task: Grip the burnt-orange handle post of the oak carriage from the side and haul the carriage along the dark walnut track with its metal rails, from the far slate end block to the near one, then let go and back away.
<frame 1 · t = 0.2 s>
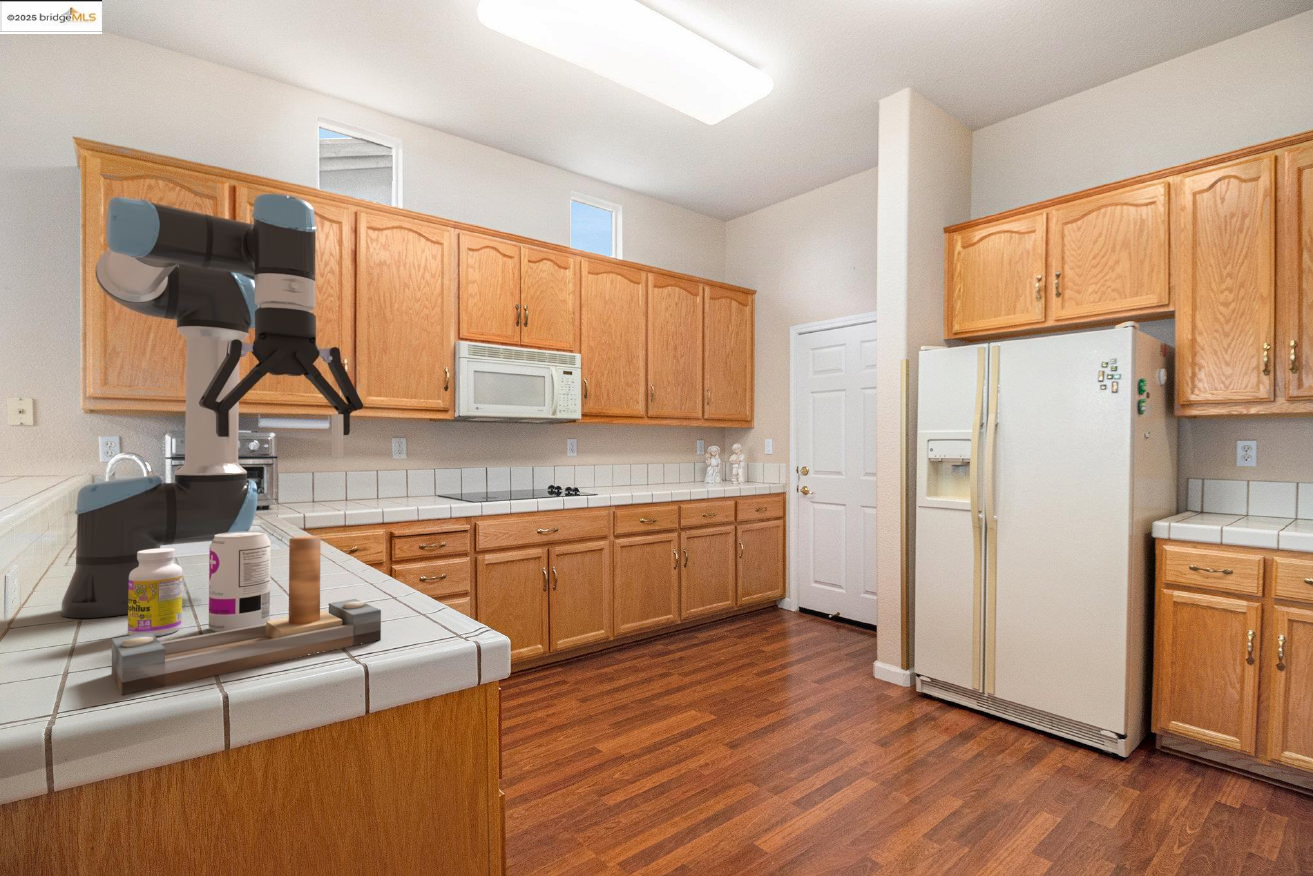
hand: (287, 459, 92), 27 cm above the countertop, tool pointing down, fingers open, 13 cm apart
supplement can: (239, 628, 103), on the countertop
carriage: (304, 586, 93), point 9 cm above the countertop, slide at 6.0 cm
supplement bottle: (155, 634, 100), on the countertop
track: (257, 655, 89), on the countertop
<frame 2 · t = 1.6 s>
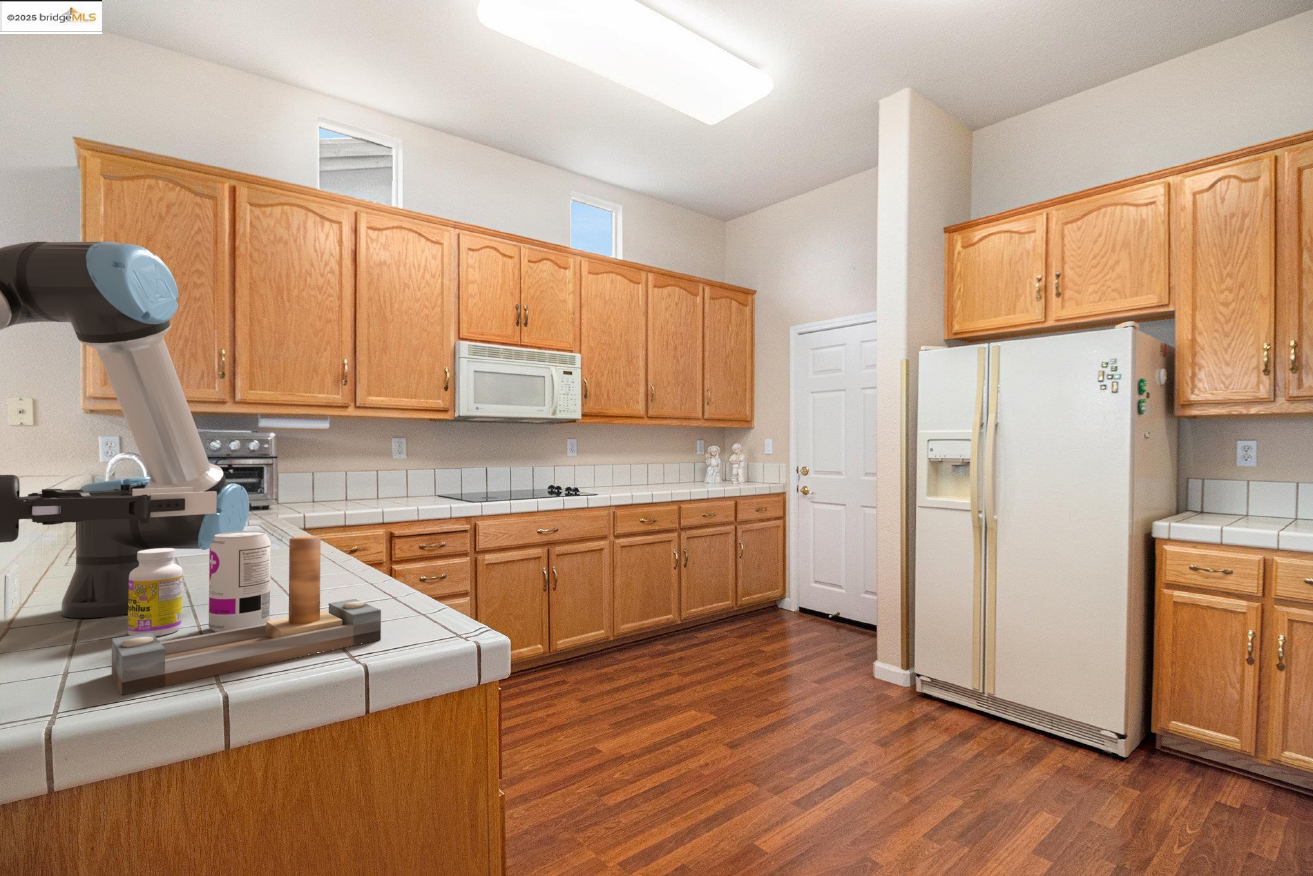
hand: (203, 499, 85), 22 cm above the countertop, tool horizontal, fingers open, 13 cm apart
nothing on the countertop moved.
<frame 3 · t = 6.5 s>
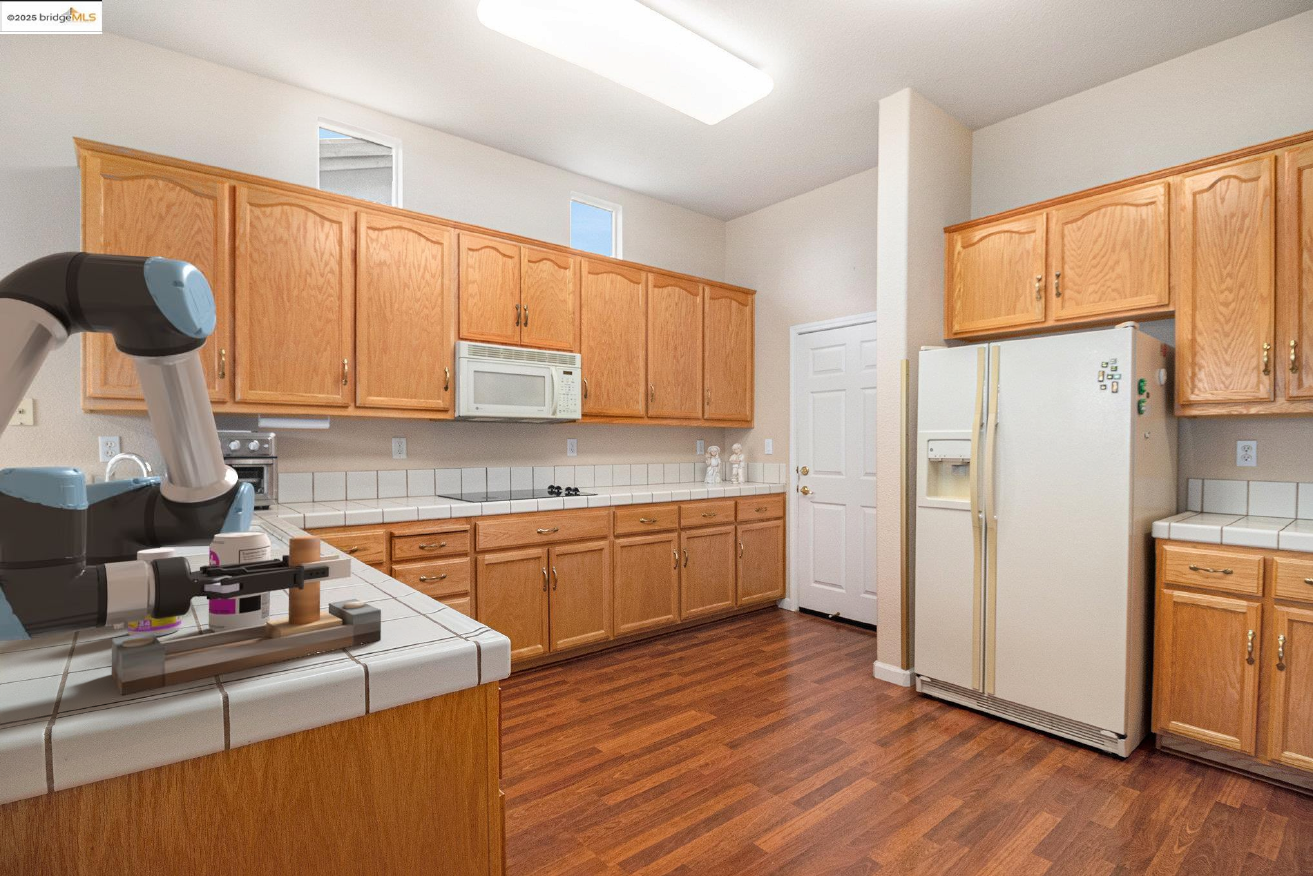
hand: (343, 565, 97), 11 cm above the countertop, tool horizontal, fingers closed on carriage, 4 cm apart
carriage: (304, 586, 93), point 9 cm above the countertop, slide at 6.0 cm, touching gripper
everything else where it was.
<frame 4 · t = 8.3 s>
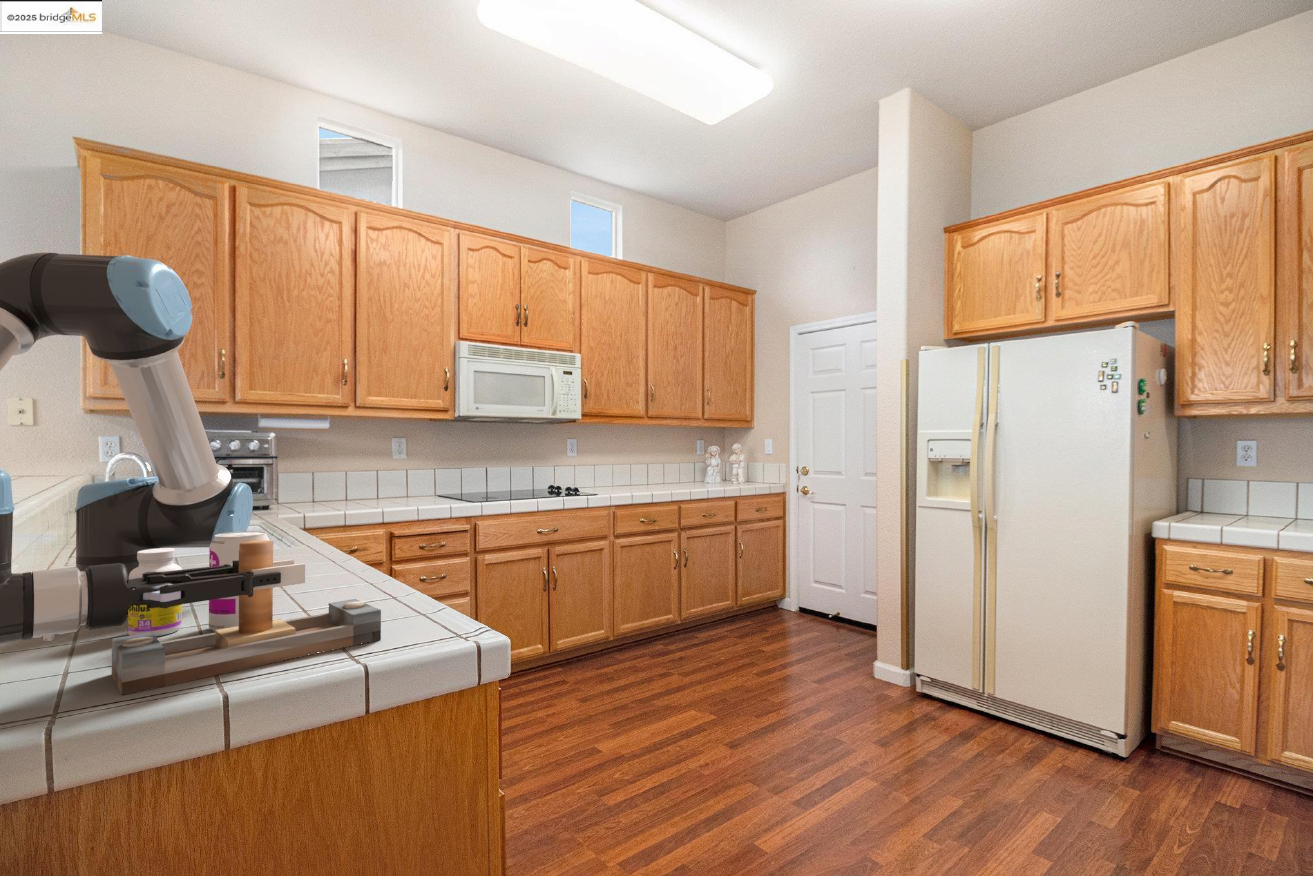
hand: (298, 571, 93), 11 cm above the countertop, tool horizontal, fingers closed on carriage, 4 cm apart
carriage: (256, 593, 89), point 9 cm above the countertop, slide at -0.2 cm, touching gripper
everything else where it was.
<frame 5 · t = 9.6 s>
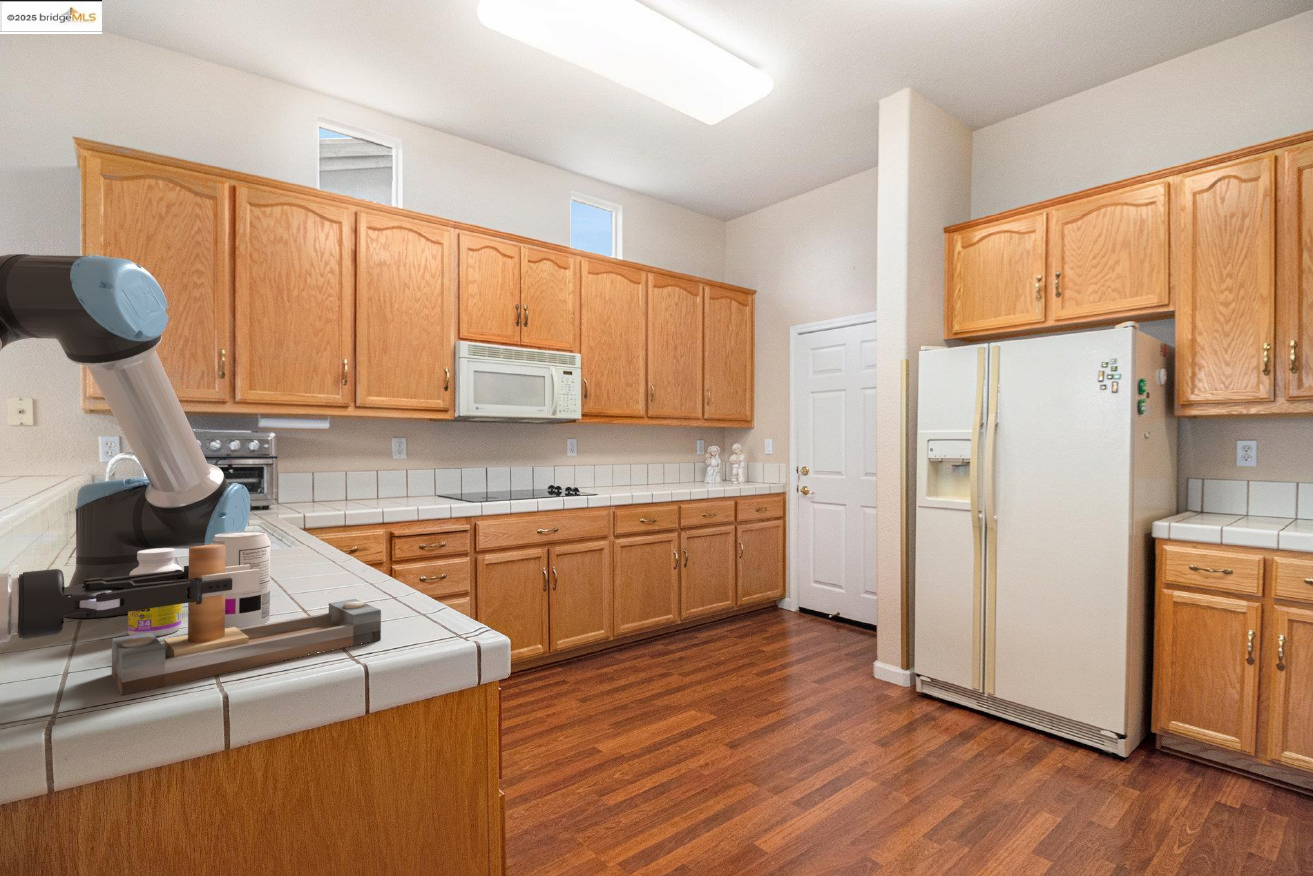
hand: (253, 576, 89), 11 cm above the countertop, tool horizontal, fingers closed on carriage, 4 cm apart
carriage: (206, 600, 85), point 9 cm above the countertop, slide at -5.9 cm, touching gripper
everything else where it was.
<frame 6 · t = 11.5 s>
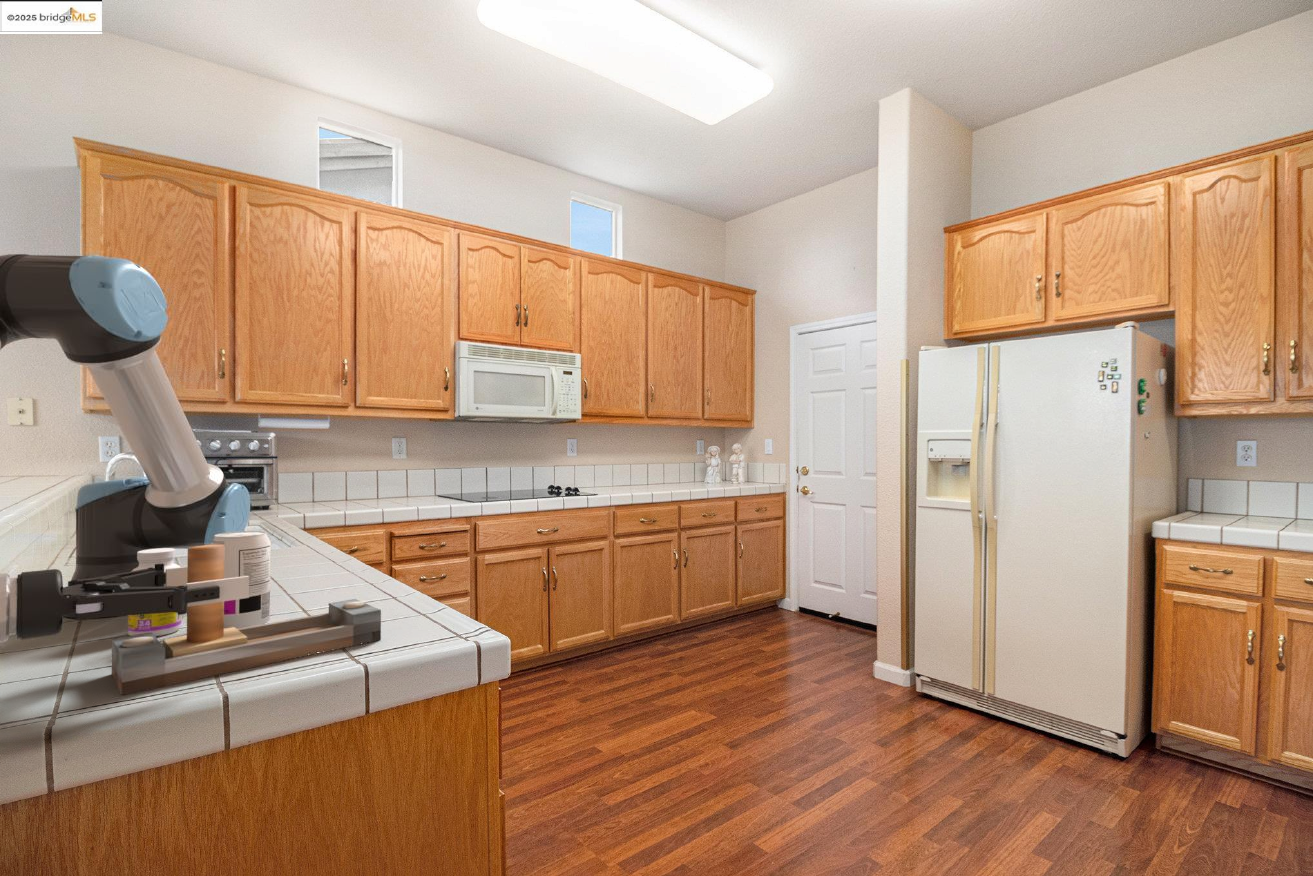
hand: (235, 579, 87), 11 cm above the countertop, tool horizontal, fingers open, 13 cm apart
carriage: (205, 600, 85), point 9 cm above the countertop, slide at -6.0 cm
everything else where it was.
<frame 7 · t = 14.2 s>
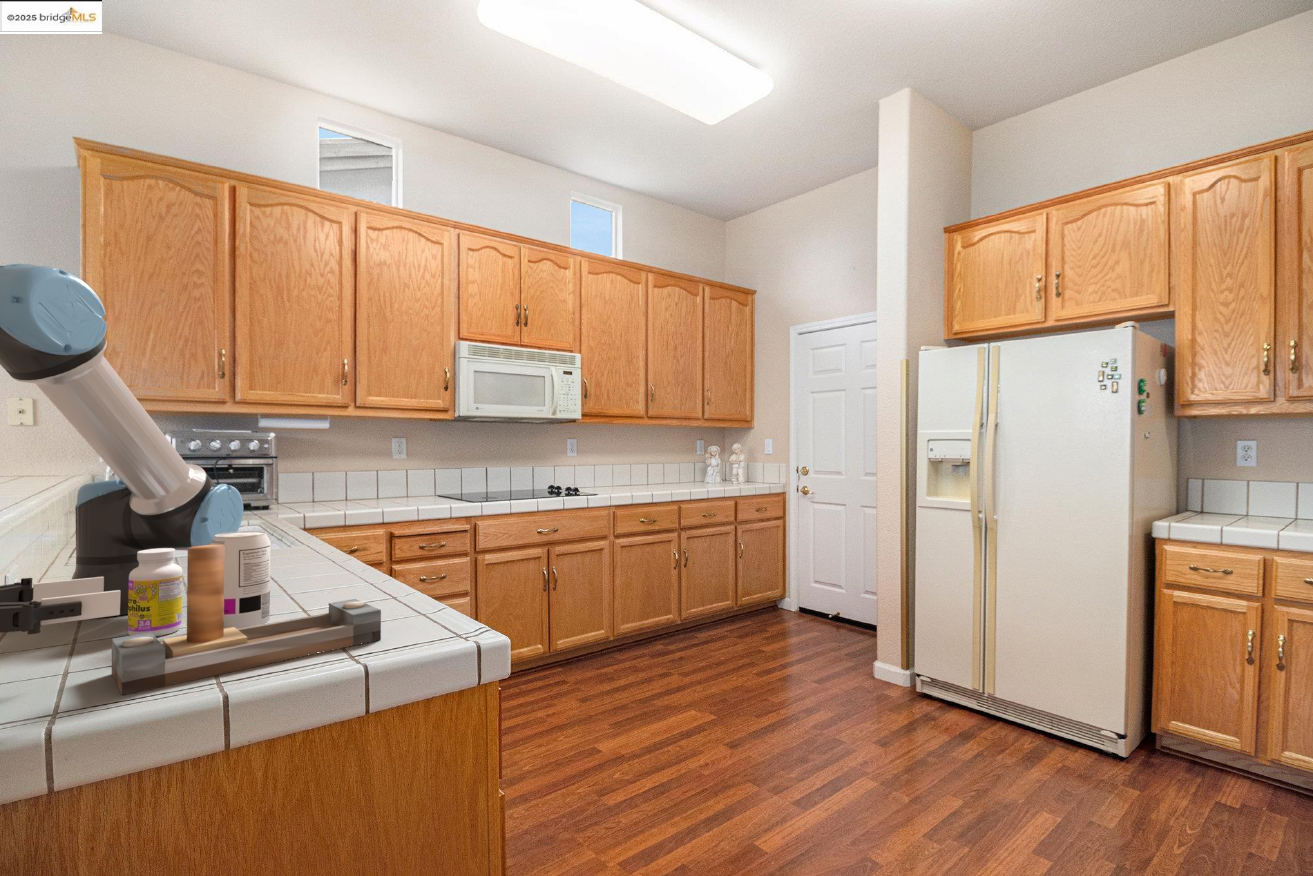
hand: (111, 594, 78), 11 cm above the countertop, tool horizontal, fingers open, 13 cm apart
nothing on the countertop moved.
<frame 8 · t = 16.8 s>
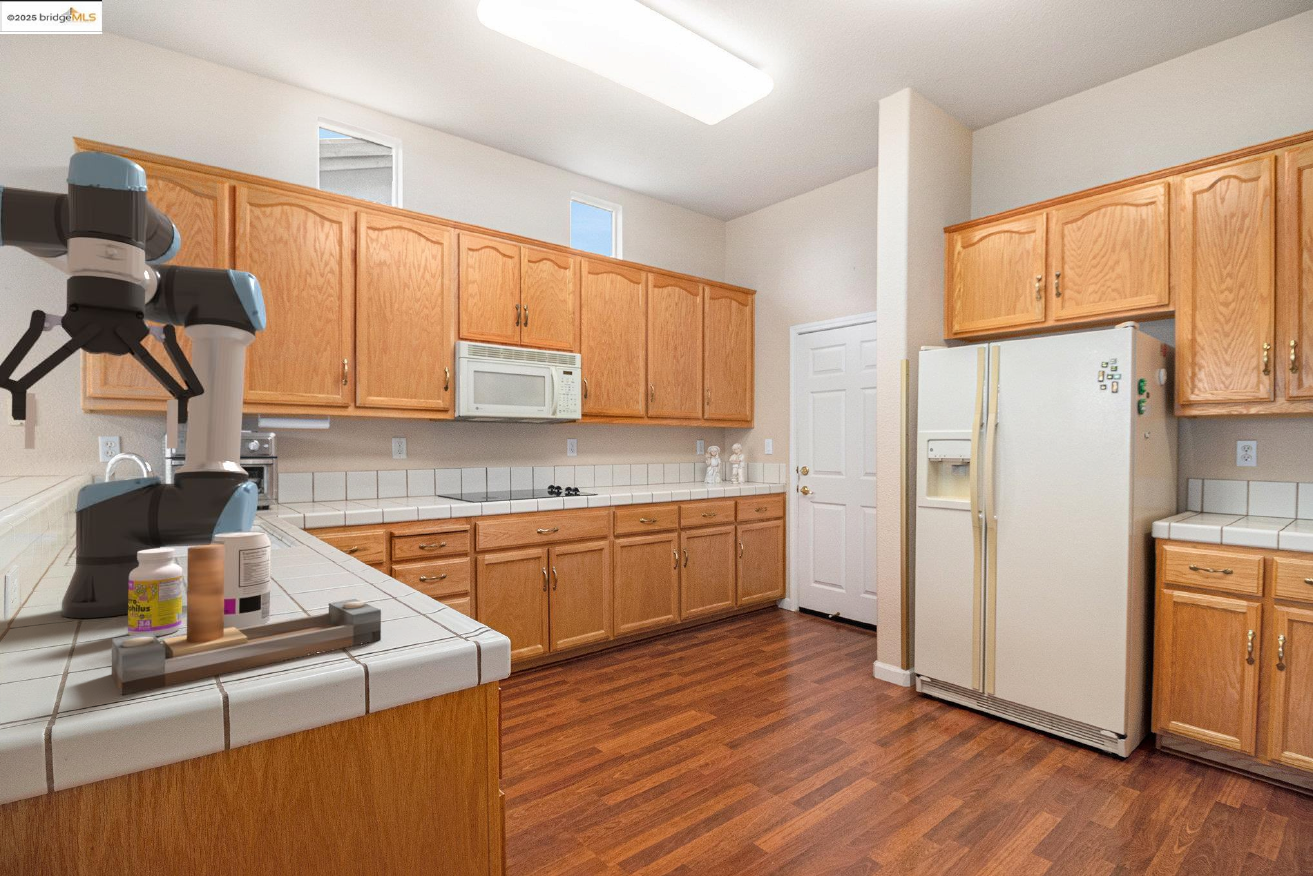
hand: (105, 449, 81), 29 cm above the countertop, tool pointing down, fingers open, 13 cm apart
nothing on the countertop moved.
at the end: carriage slide at -6.0 cm; the gripper is holding nothing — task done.
